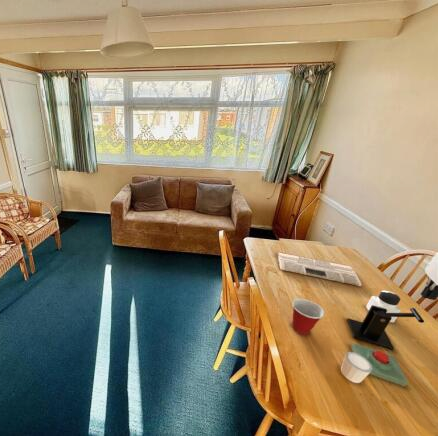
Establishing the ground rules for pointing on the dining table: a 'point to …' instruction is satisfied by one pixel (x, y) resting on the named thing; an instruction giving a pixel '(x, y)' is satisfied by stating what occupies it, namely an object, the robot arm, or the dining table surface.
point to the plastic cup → (305, 315)
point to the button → (381, 357)
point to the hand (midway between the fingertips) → (427, 297)
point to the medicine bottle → (386, 302)
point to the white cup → (355, 367)
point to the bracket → (372, 328)
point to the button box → (382, 365)
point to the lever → (403, 314)
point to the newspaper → (318, 269)
